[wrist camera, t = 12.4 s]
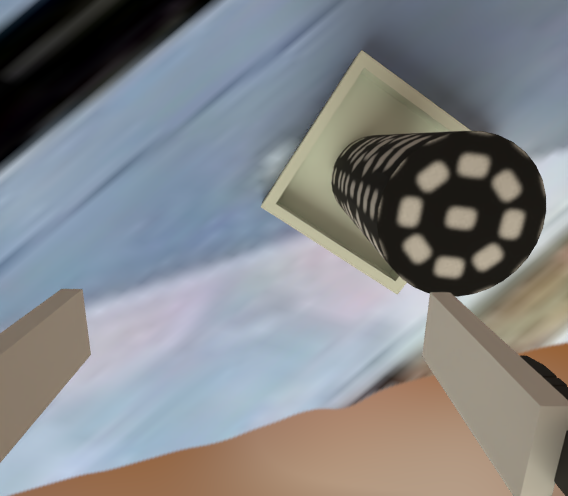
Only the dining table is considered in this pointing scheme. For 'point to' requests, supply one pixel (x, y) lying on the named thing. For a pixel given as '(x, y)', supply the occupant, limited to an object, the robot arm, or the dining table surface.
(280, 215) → the tray
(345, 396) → the dining table surface
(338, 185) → the spotted tube
